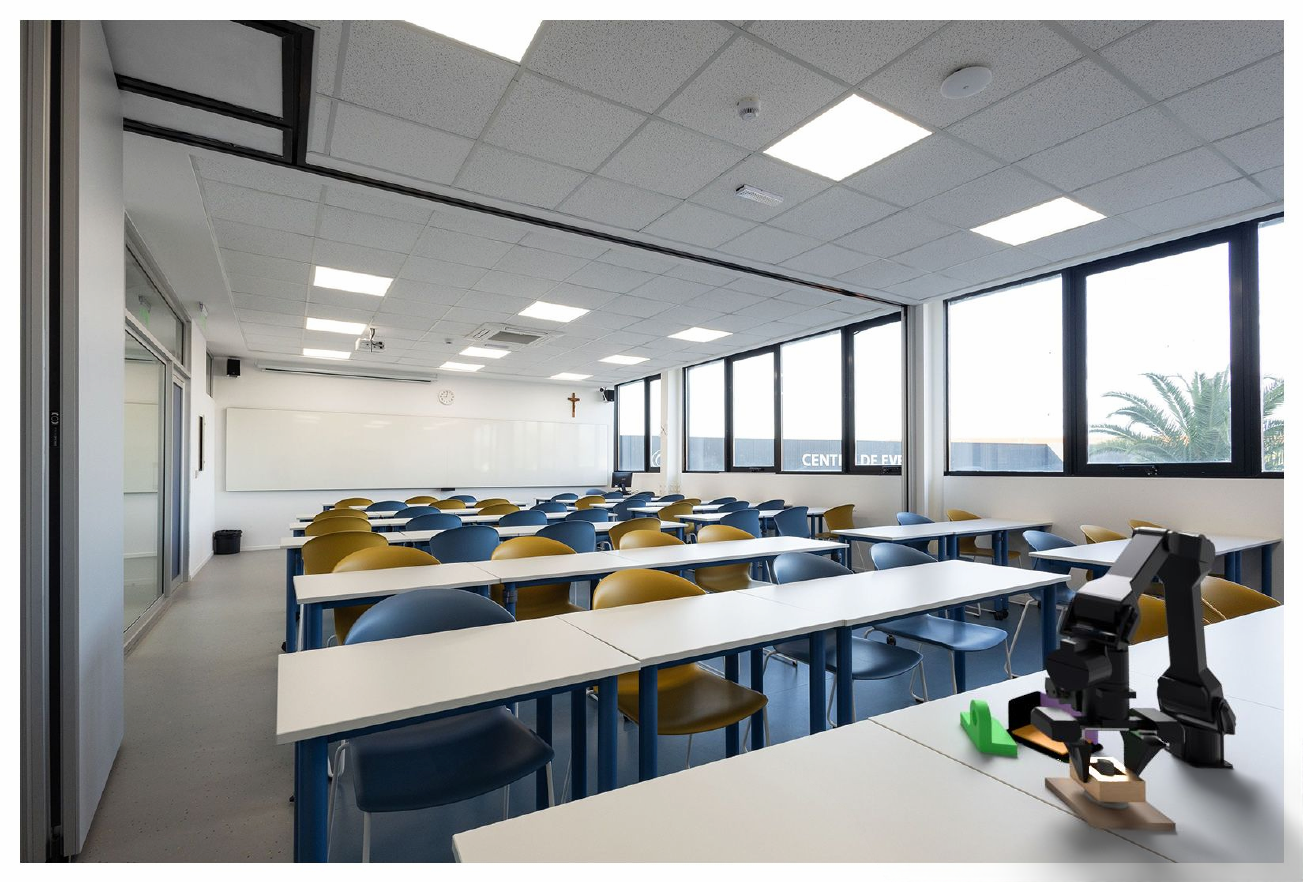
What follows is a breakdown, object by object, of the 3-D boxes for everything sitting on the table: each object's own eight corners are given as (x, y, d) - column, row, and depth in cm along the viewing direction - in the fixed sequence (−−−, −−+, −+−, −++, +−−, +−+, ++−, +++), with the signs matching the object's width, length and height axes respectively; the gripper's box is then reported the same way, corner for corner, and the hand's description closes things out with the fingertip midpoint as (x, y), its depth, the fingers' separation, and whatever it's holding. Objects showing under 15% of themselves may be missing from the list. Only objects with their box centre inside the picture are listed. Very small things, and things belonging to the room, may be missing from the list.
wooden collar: (1112, 777, 91) (1112, 757, 91) (1145, 802, 84) (1145, 781, 84) (1069, 776, 91) (1069, 757, 91) (1099, 801, 84) (1099, 780, 84)
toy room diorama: (1036, 721, 116) (1036, 686, 116) (1106, 749, 105) (1105, 710, 105) (998, 735, 110) (998, 698, 110) (1067, 766, 100) (1067, 725, 100)
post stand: (1116, 787, 93) (1115, 743, 93) (1175, 834, 82) (1175, 783, 82) (1044, 786, 93) (1044, 742, 93) (1094, 832, 82) (1093, 782, 82)
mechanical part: (1017, 756, 103) (1016, 710, 103) (979, 753, 104) (978, 707, 104) (994, 725, 114) (993, 683, 114) (960, 721, 116) (959, 681, 116)
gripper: (1127, 657, 95) (1128, 754, 95) (1009, 656, 96) (1010, 752, 96) (1187, 685, 84) (1189, 795, 84) (1053, 684, 85) (1055, 793, 85)
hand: (1105, 781), depth 88 cm, fingers closed on wooden collar, 6 cm apart
